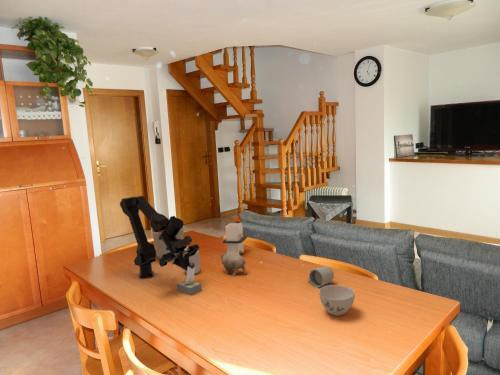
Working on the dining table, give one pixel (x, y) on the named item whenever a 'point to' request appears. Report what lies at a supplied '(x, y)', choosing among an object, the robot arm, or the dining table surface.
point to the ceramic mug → (321, 276)
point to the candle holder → (234, 238)
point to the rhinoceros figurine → (233, 263)
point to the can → (195, 261)
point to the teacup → (336, 298)
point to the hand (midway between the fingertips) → (189, 271)
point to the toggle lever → (190, 273)
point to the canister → (160, 244)
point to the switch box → (189, 287)
